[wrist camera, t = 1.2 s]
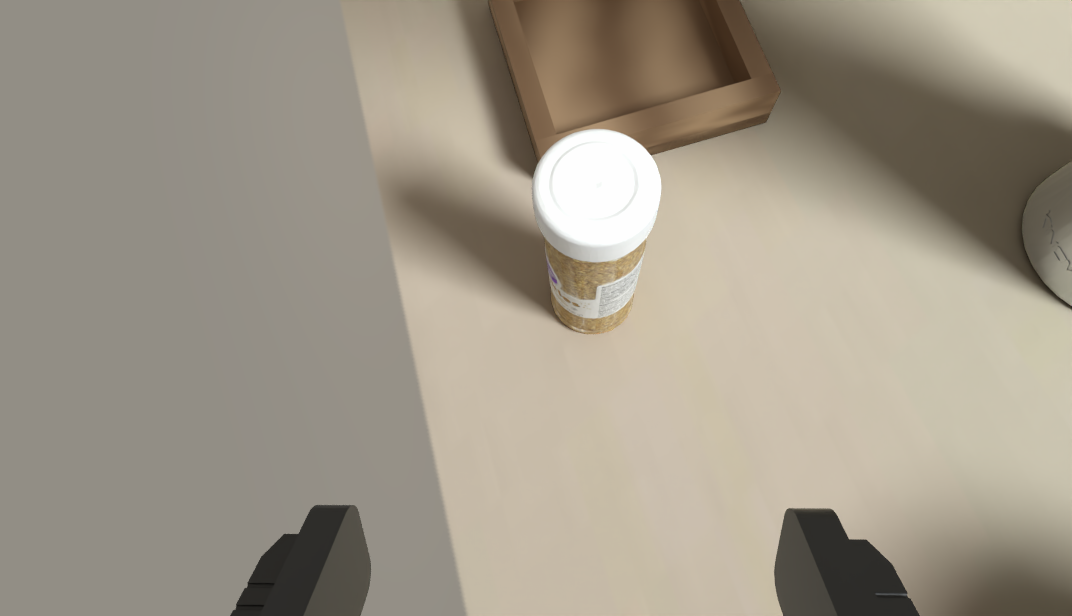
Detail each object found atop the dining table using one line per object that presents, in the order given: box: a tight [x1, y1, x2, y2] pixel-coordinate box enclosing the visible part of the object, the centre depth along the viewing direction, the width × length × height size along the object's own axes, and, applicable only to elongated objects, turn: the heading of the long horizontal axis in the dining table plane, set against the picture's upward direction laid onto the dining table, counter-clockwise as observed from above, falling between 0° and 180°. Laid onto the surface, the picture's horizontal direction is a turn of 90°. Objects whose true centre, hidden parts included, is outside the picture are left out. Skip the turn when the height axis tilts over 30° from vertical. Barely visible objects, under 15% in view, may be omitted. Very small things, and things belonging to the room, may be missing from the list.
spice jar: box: [532, 129, 661, 334], centre depth 28 cm, size 5×5×14 cm
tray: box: [488, 0, 781, 162], centre depth 37 cm, size 13×13×3 cm
